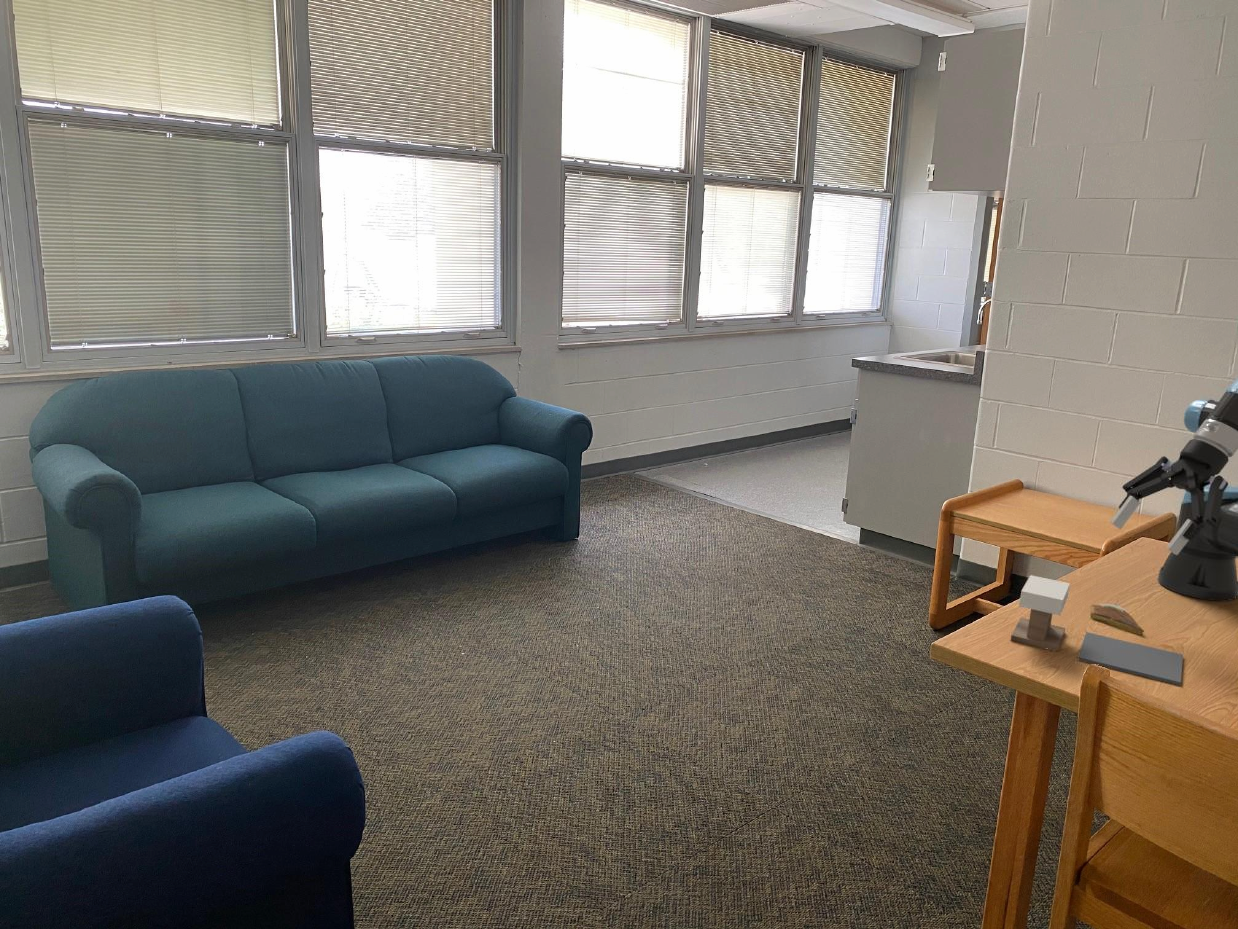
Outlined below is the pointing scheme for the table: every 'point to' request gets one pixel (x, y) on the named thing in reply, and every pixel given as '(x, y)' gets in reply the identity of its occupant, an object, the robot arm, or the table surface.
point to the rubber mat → (1132, 658)
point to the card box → (1044, 595)
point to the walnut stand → (1038, 631)
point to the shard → (1115, 618)
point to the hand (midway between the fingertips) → (1142, 538)
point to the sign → (1113, 605)
